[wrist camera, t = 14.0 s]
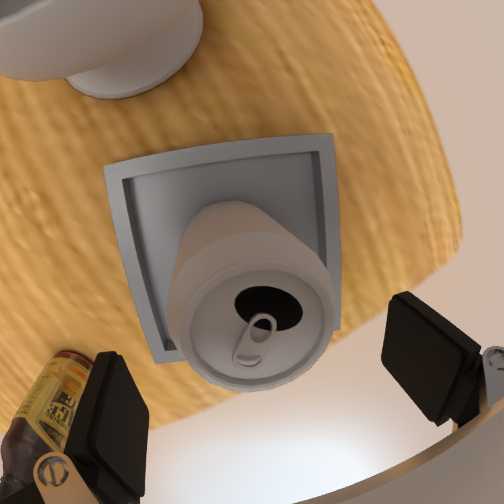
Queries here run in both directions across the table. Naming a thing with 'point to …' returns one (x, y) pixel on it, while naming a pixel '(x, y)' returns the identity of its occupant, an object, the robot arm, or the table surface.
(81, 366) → the sauce bottle
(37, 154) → the table surface
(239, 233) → the can
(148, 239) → the tray
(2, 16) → the chalice
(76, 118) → the table surface
